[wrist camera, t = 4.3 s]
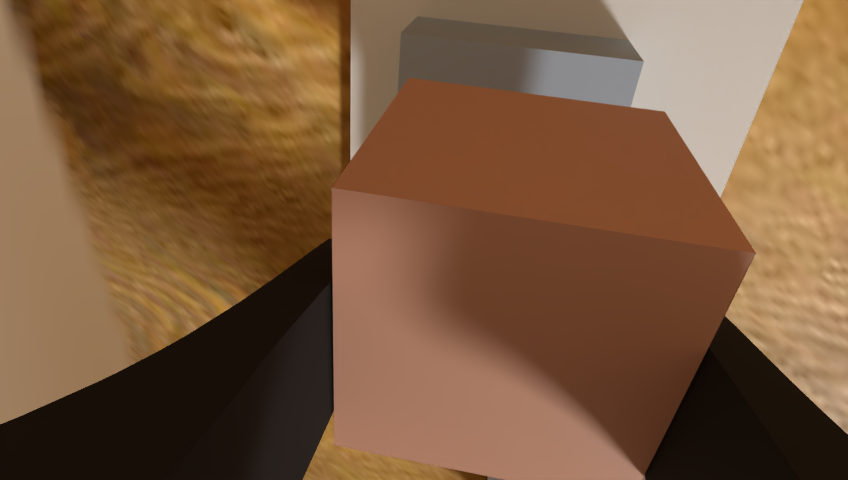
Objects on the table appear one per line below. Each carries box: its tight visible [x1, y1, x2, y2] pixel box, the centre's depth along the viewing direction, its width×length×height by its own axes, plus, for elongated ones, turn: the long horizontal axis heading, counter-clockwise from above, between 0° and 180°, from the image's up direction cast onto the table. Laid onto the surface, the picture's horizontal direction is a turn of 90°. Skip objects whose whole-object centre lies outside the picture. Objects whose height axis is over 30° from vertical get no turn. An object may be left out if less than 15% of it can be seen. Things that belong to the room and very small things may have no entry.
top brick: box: [332, 78, 756, 480], centre depth 10 cm, size 5×5×5 cm
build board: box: [350, 0, 804, 197], centre depth 18 cm, size 11×12×1 cm
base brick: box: [398, 16, 644, 107], centre depth 16 cm, size 6×6×2 cm
